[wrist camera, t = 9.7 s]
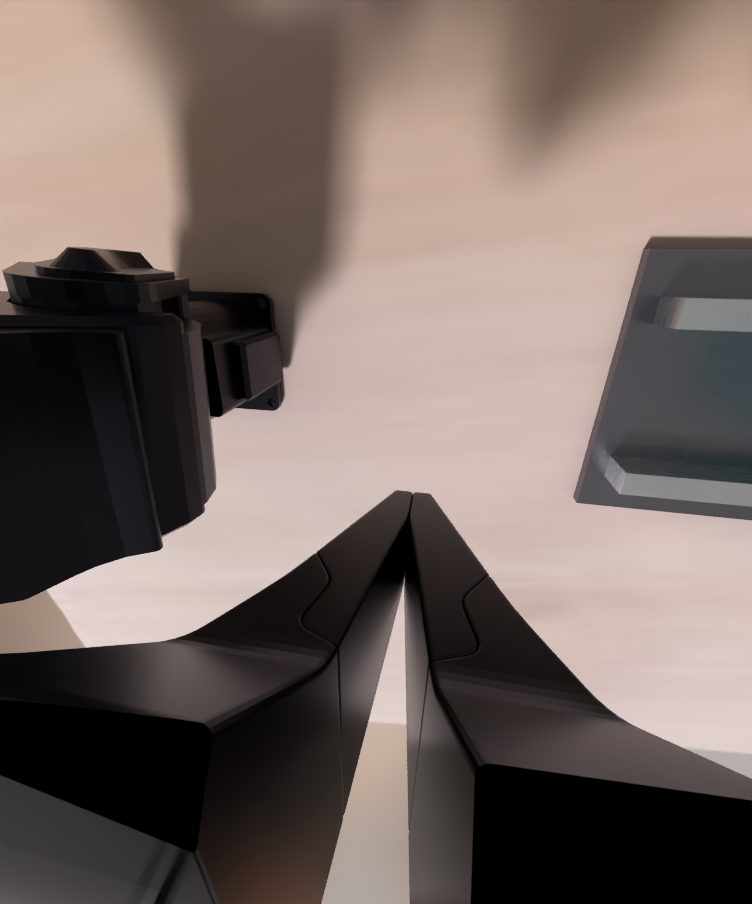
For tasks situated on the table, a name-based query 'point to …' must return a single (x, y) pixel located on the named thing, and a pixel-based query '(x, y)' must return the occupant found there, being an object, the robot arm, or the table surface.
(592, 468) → the chute
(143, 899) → the robot arm
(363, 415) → the table surface
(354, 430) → the table surface
